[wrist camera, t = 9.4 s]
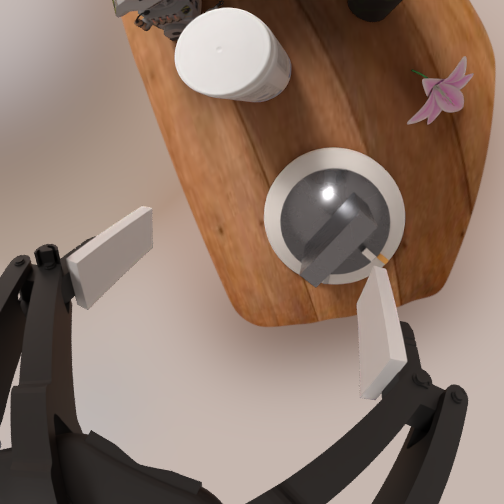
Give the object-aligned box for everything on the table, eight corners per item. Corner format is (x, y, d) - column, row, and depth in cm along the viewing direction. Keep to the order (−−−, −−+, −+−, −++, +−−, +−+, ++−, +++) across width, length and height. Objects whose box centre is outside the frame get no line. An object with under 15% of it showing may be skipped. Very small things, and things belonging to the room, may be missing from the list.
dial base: (269, 140, 37) (266, 141, 35) (412, 159, 33) (416, 162, 31) (264, 268, 46) (261, 275, 44) (385, 284, 42) (387, 292, 40)
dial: (260, 227, 40) (243, 256, 33) (328, 144, 33) (329, 151, 25) (338, 288, 42) (338, 327, 34) (409, 219, 34) (429, 247, 26)
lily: (381, 120, 32) (424, 152, 26) (375, 39, 24) (426, 52, 17) (442, 113, 32) (485, 142, 25) (442, 42, 23) (492, 60, 17)
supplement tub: (239, 32, 30) (195, -3, 18) (303, 54, 30) (290, 18, 17) (214, 91, 35) (158, 82, 22) (275, 114, 35) (246, 111, 22)
